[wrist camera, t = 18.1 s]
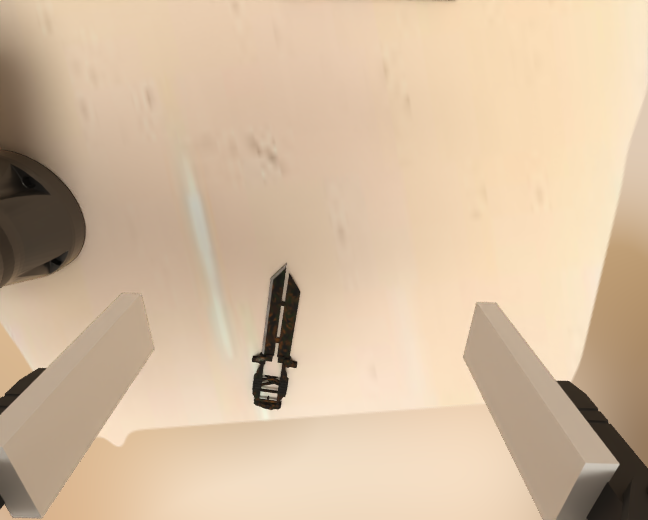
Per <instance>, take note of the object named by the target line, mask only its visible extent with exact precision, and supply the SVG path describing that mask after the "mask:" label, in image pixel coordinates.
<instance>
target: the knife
mask: <svg viewBox="0 0 648 520" xmlns="http://www.w3.org/2000/svg"><path fill="white" fill-rule="evenodd" d="M286 265H287V263H286V264H285V265H284V266H283V267H282V268H281V269H280V270H279V271H278V272H277V273H276V274H275V275H274V276H273V277H272V278H271V282H270V290H269V298H268V306H267V315H266V323H265V331H264V339H263V348H262V352H261V354H260V356H253V358H252V362H257V363H259V364H261V365H260V367H259V368H258V370H257V373H256V374H255V375H254V381H253V389H252V390H253V393H252V394H253V395H254V398H255V399H254V404H255V405H256V406H260V407H262V408H265V409H270V410H273V409H280V408H281V402H282V401H280V400H281V399H282V398H283V397H285V395H286V391H287V385H288V379H289V378H288V377H287V373H286V371H285V367H287V368H289V367H293V368H296V367H297V362H295V361H291V360H290V359H291V356H290V351H291V345H292V339H293V333H294V327H295V321H296V315H297V309H298V303H299V297H300V291H299V289H298V287H297V286H296V284H295V282H294V280H293V279H292V277H291V275H290V273H289V279H288V286H287V293H286V300H285V302H283V301H282V294H283V287H284V280H285V273H286ZM281 306H284V313H283V320H282V327H281V334H280V338H276V337H277V329H278V322H279V315H280V308H281ZM276 343H279V347H278V354H277V357H278V363H283V364H282V371H281V377H280V380H278V379H276V378H278V377H276V376H269V375H265V377H267V378H262V373H263V366H264V364H265V362H266V361H271V362H272V358H273V356H274V351H275V344H276ZM265 380H268V381H270V382H266V383H262V381H265ZM270 384H276V385H278V386H279V387H278V391H276V390H269V389H261V386H264V385H270ZM260 391H263V392H270V393H278V396H277V401H274V400H269V396H268V397H267V399H260V398H259V397H260Z"/></svg>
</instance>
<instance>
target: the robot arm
mask: <svg viewBox="0 0 648 520" xmlns="http://www.w3.org/2000/svg"><path fill="white" fill-rule="evenodd" d="M84 237H85V226H84V220H83V216H82V213H81V210H80V208H79V206H78V204H77V202H76V200H75V198H74V197H73V195H72V194H71V192H70V191H69V190H68V188H67V187H66V186H65V185H64V184H63V182H62V181H61V180H60V179H59V178H58V177H57V176H55V175H54V174H53V173H52V172H51V171H49V170H48V169H47V168H45V167H44V166H43V165H41V164H39V163H38V162H36V161H34V160H32V159H30V158H28V157H26V156H23V155H21V154H18V153H15V152H11V151H6V150H0V288H2V287H3V286H7V285H11V284H15V283H20V282H24V281H28V280H32V279H37V278H41V277H45V276H48V275H50V274H53V273H55V272H57V271H58V270H60V269H61V268H63V267H64V266H66V265H67V264H69V263H70V262H71V261H73V260H74V259H75V258H76V257H77V255H78V254H79V252H80V250H81V248H82V246H83V243H84ZM153 351H154V345H153V340H152V336H151V332H150V328H149V323H148V319H147V315H146V311H145V306H144V302H143V298H142V294H141V293H121V294H120V295H119V296H118V297H117V298H116V299H115V300H114V301H113V302H112V303H111V304H110V305H109V306H108V307H107V308H106V309H105V310H104V311H103V312H102V313H101V314H100V315H99V316H98V317H97V318H96V319H95V320H94V321H93V322H92V323H91V324H90V325H89V326H88V327H87V328H86V330H85V331H84V332H83V333H82V334H81V335H80V336H79V337H78V338H77V339H76V340H75V341H74V342H73V343H72V344H71V345H70V346H69V347H68V348H67V349H66V350H65V351H64V352H63V353H62V354H61V355H60V356H59V357H58V358H57V359H56V360H55V361H54V362H53V363H52V364H51V365H50V366H49V367H48V368H38V369H36V370H35V371H33V372H32V373H30V374H28V375H27V376H25V377H23V378H22V379H20V380H19V381H18V382H17V383H16V384H15V385H14V386H13V387H12V388H11V389H10V390H9V391H7V392H6V393H5V396H4V397H1V398H0V509H1V508H2V506H3V505H4V504H5V506H6V507H7V509H8V511H9V512H10V514H11V515H12V517H13V518H43V516H44V515H45V513H46V512H47V510H48V509H49V507H50V506H51V504H52V503H53V501H54V500H55V498H56V497H57V495H58V494H59V492H60V491H61V489H62V488H63V486H64V485H65V483H66V482H67V480H68V478H69V477H70V476H71V474H72V473H73V471H74V470H75V468H76V467H77V465H78V463H79V462H80V461H81V459H82V458H83V456H84V455H85V453H86V452H87V450H88V448H89V447H90V446H91V444H92V442H93V441H94V440H95V438H96V436H97V435H98V433H99V432H100V430H101V429H102V427H103V426H104V424H105V423H106V421H107V420H108V418H109V417H110V415H111V414H112V412H113V411H114V409H115V408H116V406H117V405H118V403H119V402H120V400H121V399H122V397H123V396H124V394H125V393H126V391H127V390H128V388H129V387H130V385H131V384H132V382H133V381H134V379H135V378H136V376H137V375H138V373H139V372H140V370H141V369H142V367H143V366H144V364H145V363H146V361H147V360H148V358H149V357H150V355H151V354H152V352H153ZM463 358H464V360H465V362H466V364H467V366H468V368H469V370H470V372H471V374H472V376H473V379H474V381H475V383H476V385H477V387H478V389H479V391H480V393H481V395H482V397H483V399H484V401H485V403H486V405H487V407H488V409H489V411H490V413H491V415H492V417H493V419H494V421H495V423H496V425H497V427H498V429H499V431H500V433H501V436H502V438H503V440H504V441H505V444H506V446H507V448H508V450H509V452H510V454H511V456H512V458H513V460H514V462H515V464H516V466H517V468H518V470H519V472H520V474H521V476H522V478H523V480H524V482H525V484H526V486H527V489H528V490H529V493H530V495H531V496H532V499H533V501H534V503H535V505H536V507H537V509H538V511H539V513H540V515H541V517H542V519H543V520H648V468H647V467H646V466H645V465H644V463H643V462H642V461H641V460H640V459H639V457H638V456H637V455H636V454H635V453H634V451H633V450H632V449H631V448H630V447H629V445H628V444H627V443H626V442H625V440H624V439H623V438H622V437H621V436H620V434H619V433H618V432H617V431H616V430H615V428H614V427H613V426H612V425H611V424H609V423H608V420H607V419H606V418H605V416H604V415H603V414H602V413H601V412H599V411H598V408H597V407H596V406H595V404H594V403H593V402H592V401H591V400H590V398H589V397H588V396H587V395H586V394H585V393H584V392H583V391H581V390H580V389H579V388H577V387H576V386H575V385H573V384H572V383H571V382H569V381H556V380H555V379H554V378H553V376H552V375H551V374H550V372H549V371H548V370H547V368H546V367H545V366H544V364H543V363H542V362H541V361H540V359H539V358H538V357H537V355H536V354H535V353H534V351H533V350H532V349H531V348H530V346H529V345H528V344H527V342H526V341H525V340H524V338H523V337H522V336H521V334H520V333H519V332H518V331H517V329H516V328H515V327H514V325H513V324H512V323H511V321H510V320H509V319H508V318H507V316H506V315H505V314H504V312H503V311H502V310H501V308H500V307H499V306H498V304H497V303H491V302H476V306H475V310H474V314H473V318H472V322H471V327H470V331H469V335H468V339H467V343H466V347H465V351H464V355H463Z"/></svg>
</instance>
